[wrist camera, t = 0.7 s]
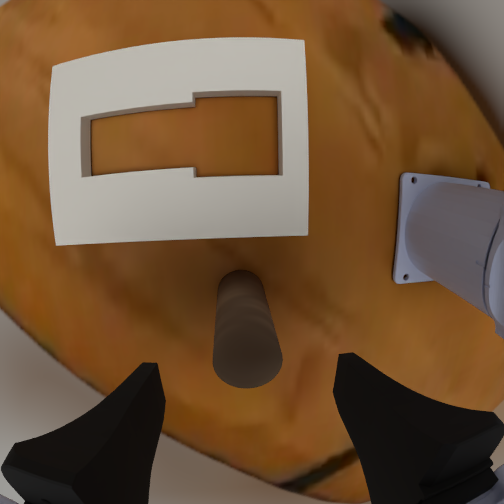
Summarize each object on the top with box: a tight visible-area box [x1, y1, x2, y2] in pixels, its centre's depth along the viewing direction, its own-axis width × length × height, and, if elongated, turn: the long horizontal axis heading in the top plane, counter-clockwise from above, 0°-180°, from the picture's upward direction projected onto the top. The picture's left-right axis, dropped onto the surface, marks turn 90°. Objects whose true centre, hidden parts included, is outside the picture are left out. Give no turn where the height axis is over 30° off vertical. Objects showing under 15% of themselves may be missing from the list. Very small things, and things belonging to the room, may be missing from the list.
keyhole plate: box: [48, 38, 309, 245], centre depth 17 cm, size 16×12×2 cm
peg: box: [213, 270, 283, 388], centre depth 17 cm, size 3×3×8 cm
